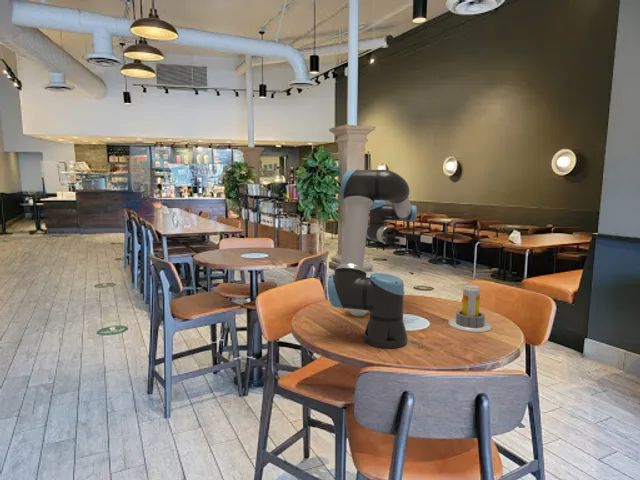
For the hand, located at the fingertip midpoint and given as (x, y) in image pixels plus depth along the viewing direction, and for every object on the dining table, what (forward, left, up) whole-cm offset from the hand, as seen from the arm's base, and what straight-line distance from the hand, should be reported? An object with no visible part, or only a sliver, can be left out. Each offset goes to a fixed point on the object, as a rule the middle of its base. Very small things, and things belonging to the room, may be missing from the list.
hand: (418, 240), depth 174 cm
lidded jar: (-14, +20, -32) cm, 40 cm away
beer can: (+2, -22, -31) cm, 38 cm away
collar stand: (+2, -22, -32) cm, 39 cm away
